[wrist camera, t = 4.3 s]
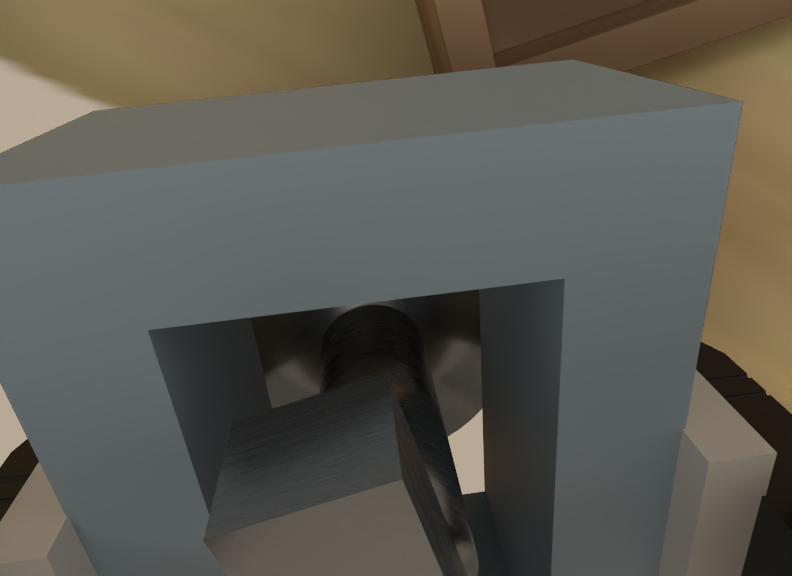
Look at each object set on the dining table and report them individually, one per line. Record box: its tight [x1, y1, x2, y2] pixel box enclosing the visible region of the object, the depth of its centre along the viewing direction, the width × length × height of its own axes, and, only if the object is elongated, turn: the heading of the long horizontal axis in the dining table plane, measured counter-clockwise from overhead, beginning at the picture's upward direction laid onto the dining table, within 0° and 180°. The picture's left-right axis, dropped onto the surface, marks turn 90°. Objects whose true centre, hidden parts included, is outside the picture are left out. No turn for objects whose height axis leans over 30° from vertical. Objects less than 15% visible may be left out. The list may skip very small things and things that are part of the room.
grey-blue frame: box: [0, 59, 743, 576], centre depth 9 cm, size 7×10×4 cm
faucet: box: [203, 289, 483, 576], centre depth 12 cm, size 7×7×14 cm
